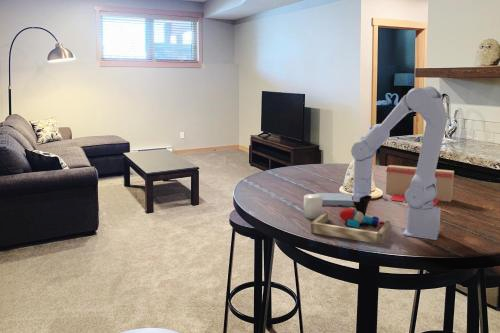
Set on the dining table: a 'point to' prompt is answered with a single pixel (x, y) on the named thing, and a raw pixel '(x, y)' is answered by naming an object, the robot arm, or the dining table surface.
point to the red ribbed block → (403, 175)
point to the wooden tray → (348, 231)
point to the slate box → (337, 199)
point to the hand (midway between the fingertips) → (361, 217)
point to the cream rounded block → (313, 206)
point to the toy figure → (358, 218)
